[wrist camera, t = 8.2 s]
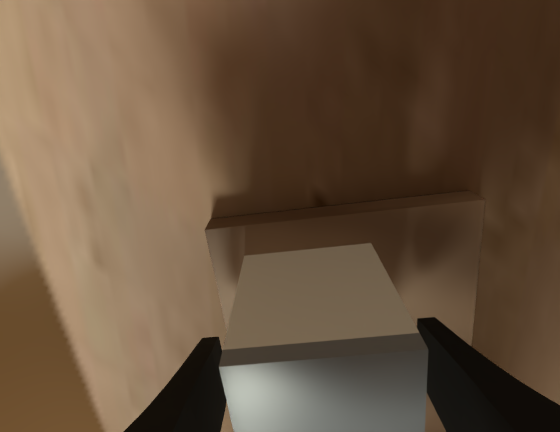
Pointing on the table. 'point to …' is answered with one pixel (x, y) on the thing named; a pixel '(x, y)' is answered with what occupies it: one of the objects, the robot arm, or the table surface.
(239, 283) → the matte gray cube
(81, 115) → the table surface
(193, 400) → the robot arm
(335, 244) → the stand
